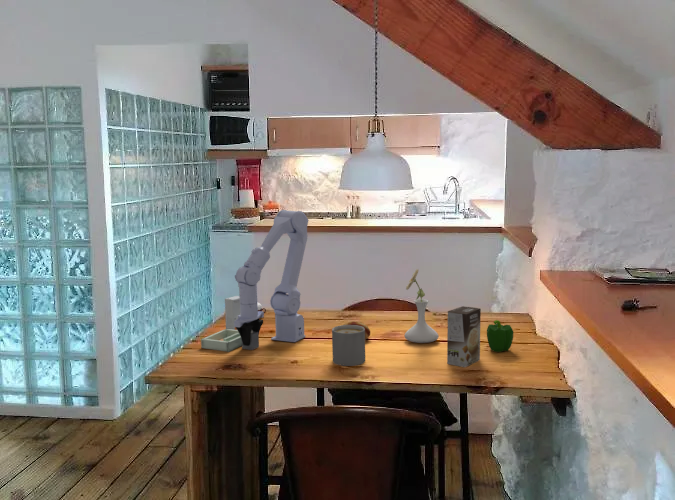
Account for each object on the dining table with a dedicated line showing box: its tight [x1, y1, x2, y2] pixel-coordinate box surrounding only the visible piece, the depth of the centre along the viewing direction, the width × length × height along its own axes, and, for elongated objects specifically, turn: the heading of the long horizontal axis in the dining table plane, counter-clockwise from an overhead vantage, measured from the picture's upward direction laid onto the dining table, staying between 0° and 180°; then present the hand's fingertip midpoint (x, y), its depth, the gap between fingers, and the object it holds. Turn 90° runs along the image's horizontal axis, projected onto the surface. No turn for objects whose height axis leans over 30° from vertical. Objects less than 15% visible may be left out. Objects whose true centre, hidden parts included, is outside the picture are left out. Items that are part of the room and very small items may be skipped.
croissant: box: [343, 320, 371, 341], centre depth 224 cm, size 21×10×8 cm, turn 166°
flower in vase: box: [404, 268, 440, 344], centre depth 218 cm, size 13×11×25 cm
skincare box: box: [224, 295, 240, 330], centre depth 239 cm, size 6×4×12 cm
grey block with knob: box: [241, 330, 260, 351], centre depth 217 cm, size 4×4×6 cm
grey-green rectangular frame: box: [200, 328, 242, 353], centre depth 222 cm, size 11×14×3 cm
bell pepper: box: [486, 319, 514, 353], centre depth 208 cm, size 8×8×10 cm
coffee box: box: [446, 305, 482, 368], centre depth 196 cm, size 9×6×16 cm
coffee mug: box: [331, 324, 366, 367], centre depth 202 cm, size 13×10×10 cm
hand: (250, 343), depth 217 cm, fingers closed on grey block with knob, 4 cm apart
